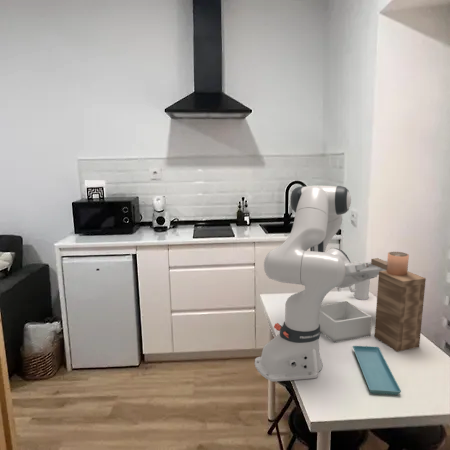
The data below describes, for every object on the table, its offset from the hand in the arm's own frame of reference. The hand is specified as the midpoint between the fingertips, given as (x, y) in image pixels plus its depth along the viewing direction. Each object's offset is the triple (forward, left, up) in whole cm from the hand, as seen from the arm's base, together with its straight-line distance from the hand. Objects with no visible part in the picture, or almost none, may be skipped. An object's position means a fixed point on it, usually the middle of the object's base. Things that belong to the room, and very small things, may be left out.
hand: (376, 263), depth 160 cm
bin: (-14, +2, -26) cm, 30 cm away
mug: (+14, +29, -26) cm, 41 cm away
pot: (0, -6, 0) cm, 6 cm away
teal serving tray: (-21, -27, -27) cm, 44 cm away
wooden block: (0, -13, -26) cm, 29 cm away
